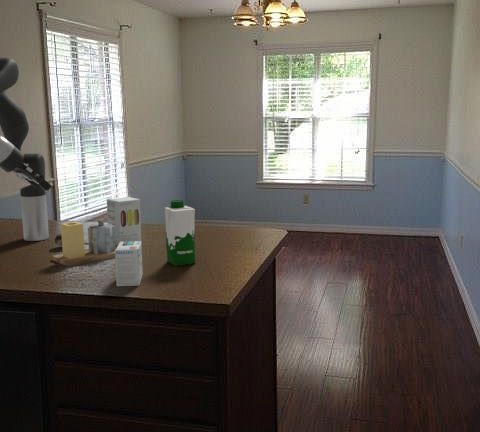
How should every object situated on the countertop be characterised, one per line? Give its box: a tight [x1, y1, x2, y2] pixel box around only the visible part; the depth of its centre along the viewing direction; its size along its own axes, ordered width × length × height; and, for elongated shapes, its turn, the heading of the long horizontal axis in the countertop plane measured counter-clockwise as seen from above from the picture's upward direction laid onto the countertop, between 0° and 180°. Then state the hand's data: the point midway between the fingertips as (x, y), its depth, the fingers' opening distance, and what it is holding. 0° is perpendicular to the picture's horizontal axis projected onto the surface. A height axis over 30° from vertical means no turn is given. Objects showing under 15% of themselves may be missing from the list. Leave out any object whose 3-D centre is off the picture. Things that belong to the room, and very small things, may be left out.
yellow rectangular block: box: [60, 221, 86, 259], centre depth 187 cm, size 5×5×11 cm
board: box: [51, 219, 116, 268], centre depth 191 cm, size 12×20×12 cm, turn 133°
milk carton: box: [164, 199, 196, 267], centre depth 183 cm, size 9×9×20 cm
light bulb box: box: [114, 240, 143, 287], centre depth 164 cm, size 11×7×11 cm, turn 5°
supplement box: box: [106, 196, 142, 247], centre depth 212 cm, size 10×9×17 cm
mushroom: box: [54, 232, 62, 247], centre depth 207 cm, size 8×8×6 cm
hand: (43, 187), depth 180 cm, fingers open, 8 cm apart
